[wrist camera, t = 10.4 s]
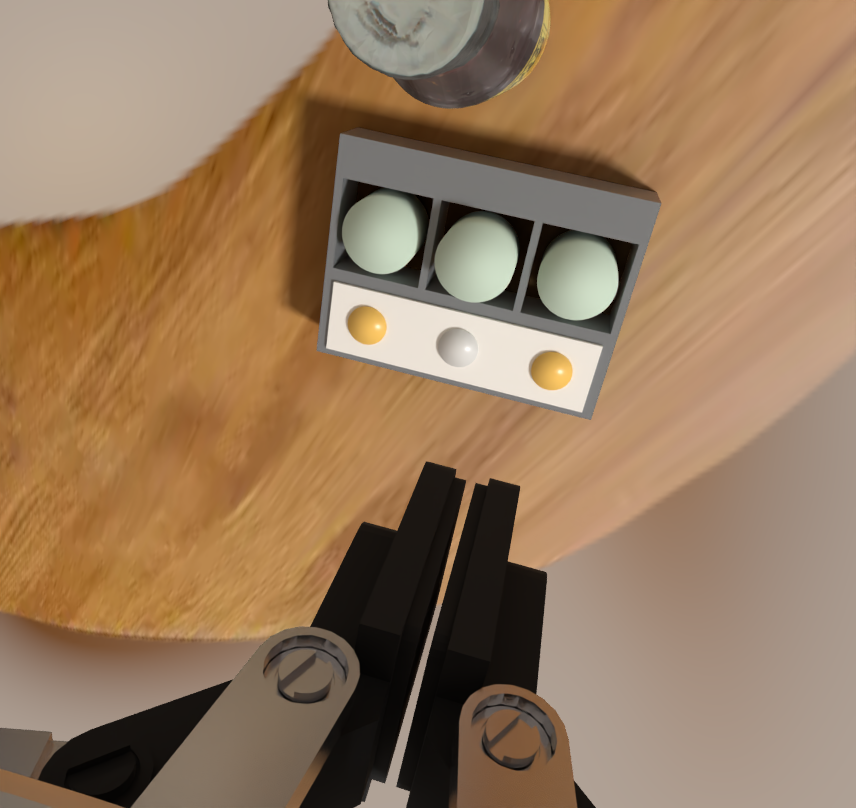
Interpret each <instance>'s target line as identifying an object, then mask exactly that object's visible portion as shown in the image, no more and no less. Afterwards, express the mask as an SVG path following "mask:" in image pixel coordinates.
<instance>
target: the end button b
mask: <svg viewBox="0 0 856 808" xmlns="http://www.w3.org/2000/svg"><path fill="white" fill-rule="evenodd" d="M537 288H538V293H539V296H540V298H541V300H542V302H543V303H544V305H545V306H546V307H547V308H548V309H549V310H550V311H551V312H552V313H554V314H555V315H557V316H559V317H562V318H565V319H569V320H584V319H589V318H592V317H594V316H596V315H598V314H600V313H601V312H603V311H604V310H605V309H606V308H607V307H608V306H609V305H610V304H611V302H612V301H613V299H614V297H615V295H616V292H617V289H618V268H617V259H616V255H615V252H614V249H613V247H612V246H611V244H610V243H609V242H608V241H607V240H606V239H605V238H604V237H603V236H599V235H594V234H590V233H585V232H581V231H577V230H570V231H567V232H564V233H562V234H560V235H559V236H557V237H556V238H555V239H554V240H552V241H551V243H550V244H549V245H548V246H547V248H546V250H545V252H544V254H543V257H542V261H541V265H540V268H539V272H538V277H537Z"/></svg>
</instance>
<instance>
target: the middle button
mask: <svg viewBox="0 0 856 808" xmlns="http://www.w3.org/2000/svg"><path fill="white" fill-rule="evenodd" d="M519 254H520V244H519V239H518V236H517V233H516V232H515V230H514V228H513V227H512V225H511V224H510V223H509V222H508V221H507V220H506V219H504V218H503V217H501V216H500V215H497V214H495V213H492V212H487V211H477V212H472V213H469V214H467V215H465V216H463V217H461V218H460V219H459V220H458V221H457V222H456V223H455V224H454V225H453V226H452V227H451V229H450V230H449V231H448V232H447V233H446V235H445V236H444V237H443V239H442V240H441V241H440V243H439V245H438V247H437V250H436V254H435V271H436V274H437V277H438V279H439V281H440V283H441V284H442V286H443V287H444V288H445V289H446V290H447V291H448V292H449V293H450V294H451V295H453V296H454V297H456V298H458V299H460V300H463V301H466V302H474V303H477V302H484V301H488V300H491V299H493V298H495V297H496V296H498V295H499V294H500V293H502V292H503V291H504V290H505V288H506V287H507V286H508V284H509V283H510V280H511V278H512V276H513V273H514V270H515V267H516V265H517V262H518V259H519Z"/></svg>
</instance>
